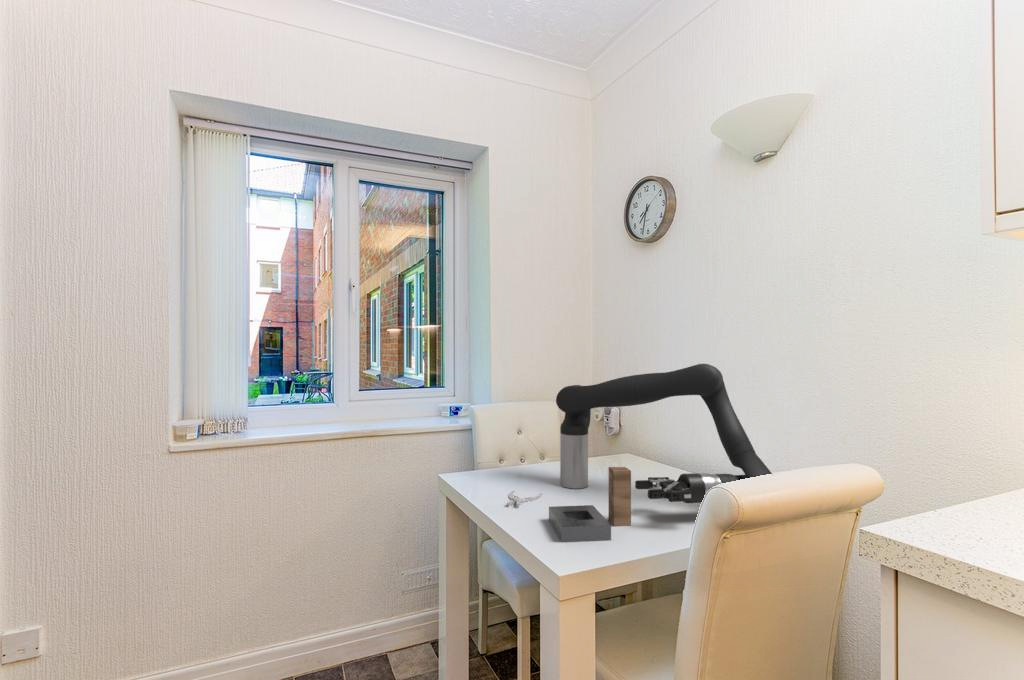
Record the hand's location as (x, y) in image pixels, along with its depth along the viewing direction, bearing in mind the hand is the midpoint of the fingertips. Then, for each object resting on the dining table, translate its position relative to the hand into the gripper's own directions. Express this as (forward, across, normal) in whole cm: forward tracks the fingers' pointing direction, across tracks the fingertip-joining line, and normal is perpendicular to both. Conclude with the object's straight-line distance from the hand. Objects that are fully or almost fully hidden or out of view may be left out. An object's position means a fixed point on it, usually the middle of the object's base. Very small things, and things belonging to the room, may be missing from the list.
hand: (641, 489), depth 128 cm
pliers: (+29, -22, +9) cm, 38 cm away
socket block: (+18, +4, +8) cm, 20 cm away
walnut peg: (+6, 0, +8) cm, 10 cm away
